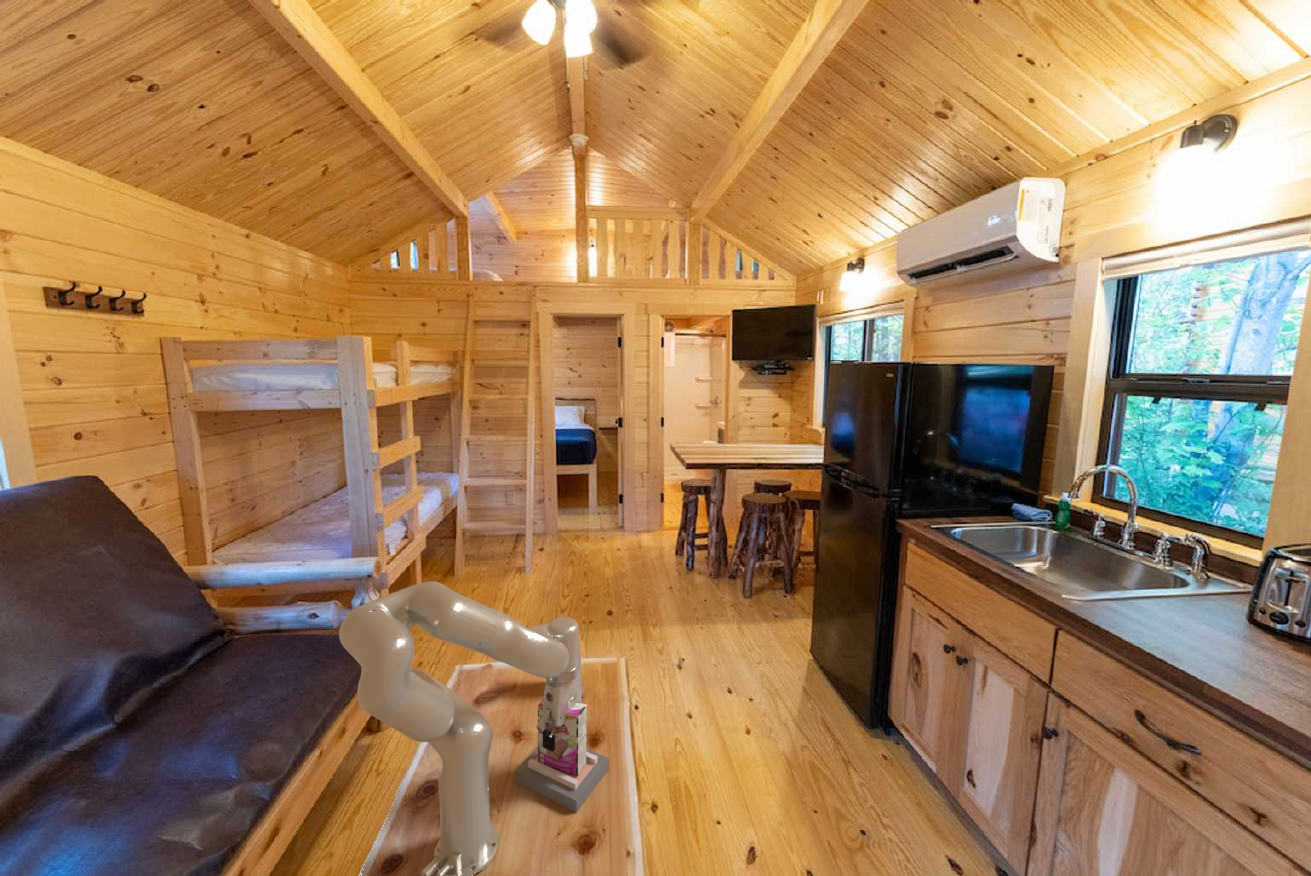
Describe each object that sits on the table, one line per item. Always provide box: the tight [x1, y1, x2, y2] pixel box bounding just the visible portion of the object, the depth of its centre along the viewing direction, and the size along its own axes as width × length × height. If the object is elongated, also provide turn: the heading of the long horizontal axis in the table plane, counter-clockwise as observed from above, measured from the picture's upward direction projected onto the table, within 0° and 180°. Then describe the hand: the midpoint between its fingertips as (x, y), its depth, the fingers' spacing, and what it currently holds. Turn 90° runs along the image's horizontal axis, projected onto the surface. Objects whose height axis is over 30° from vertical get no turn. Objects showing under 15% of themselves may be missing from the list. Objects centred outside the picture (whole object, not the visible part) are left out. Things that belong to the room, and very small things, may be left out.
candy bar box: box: [537, 699, 588, 777], centre depth 123 cm, size 11×5×16 cm, turn 71°
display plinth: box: [514, 747, 610, 813], centre depth 124 cm, size 14×18×4 cm
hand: (561, 735), depth 123 cm, fingers open, 9 cm apart
